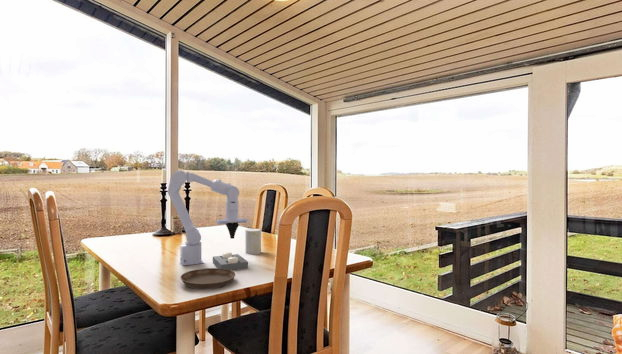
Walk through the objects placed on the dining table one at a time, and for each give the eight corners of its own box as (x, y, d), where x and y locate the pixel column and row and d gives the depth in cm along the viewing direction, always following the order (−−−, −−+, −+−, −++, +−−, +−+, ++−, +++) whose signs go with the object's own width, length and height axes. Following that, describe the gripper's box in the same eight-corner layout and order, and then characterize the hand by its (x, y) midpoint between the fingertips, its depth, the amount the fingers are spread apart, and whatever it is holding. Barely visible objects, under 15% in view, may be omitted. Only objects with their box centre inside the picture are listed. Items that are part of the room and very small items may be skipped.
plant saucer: (244, 278, 152) (244, 269, 152) (217, 294, 132) (217, 285, 132) (200, 273, 158) (200, 266, 158) (168, 288, 138) (168, 279, 138)
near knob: (229, 268, 163) (229, 259, 163) (226, 266, 167) (226, 257, 167) (239, 267, 165) (239, 258, 165) (236, 265, 169) (236, 256, 169)
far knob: (223, 263, 172) (223, 254, 172) (221, 261, 176) (221, 252, 175) (233, 262, 174) (233, 253, 174) (230, 260, 178) (230, 252, 177)
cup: (253, 254, 191) (253, 231, 191) (242, 252, 196) (242, 230, 196) (264, 252, 198) (264, 229, 198) (253, 250, 203) (253, 228, 202)
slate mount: (221, 271, 160) (221, 264, 160) (212, 263, 175) (212, 256, 175) (248, 268, 166) (248, 261, 165) (237, 260, 180) (237, 254, 180)
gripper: (219, 212, 174) (219, 240, 175) (249, 210, 181) (249, 238, 181) (215, 210, 181) (215, 238, 181) (244, 209, 187) (244, 236, 188)
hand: (232, 238), depth 182 cm, fingers closed
